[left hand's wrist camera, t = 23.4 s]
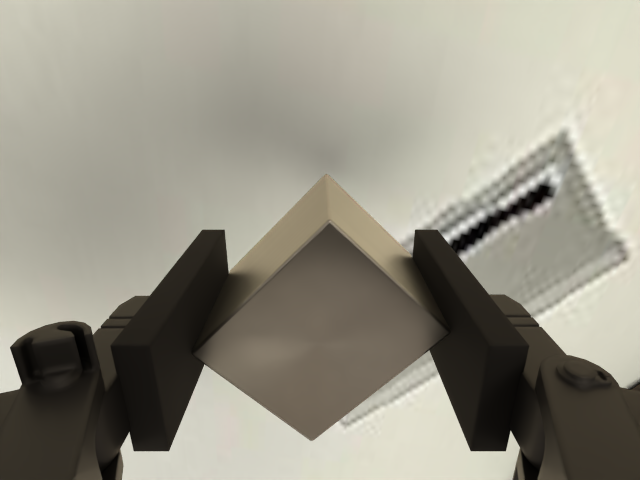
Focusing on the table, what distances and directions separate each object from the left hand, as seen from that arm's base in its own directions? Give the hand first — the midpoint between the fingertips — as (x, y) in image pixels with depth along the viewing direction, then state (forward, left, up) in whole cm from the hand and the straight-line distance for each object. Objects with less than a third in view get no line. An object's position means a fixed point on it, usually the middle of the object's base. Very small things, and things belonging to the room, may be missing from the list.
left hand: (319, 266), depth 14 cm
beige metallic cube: (0, 0, 0) cm, 0 cm away
